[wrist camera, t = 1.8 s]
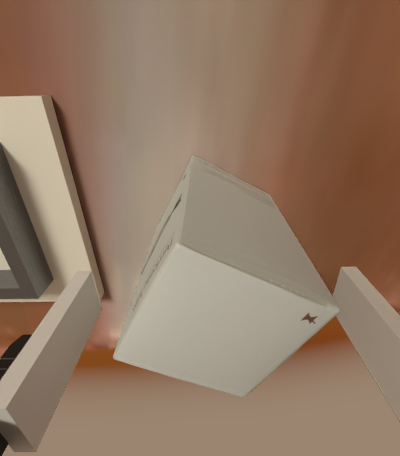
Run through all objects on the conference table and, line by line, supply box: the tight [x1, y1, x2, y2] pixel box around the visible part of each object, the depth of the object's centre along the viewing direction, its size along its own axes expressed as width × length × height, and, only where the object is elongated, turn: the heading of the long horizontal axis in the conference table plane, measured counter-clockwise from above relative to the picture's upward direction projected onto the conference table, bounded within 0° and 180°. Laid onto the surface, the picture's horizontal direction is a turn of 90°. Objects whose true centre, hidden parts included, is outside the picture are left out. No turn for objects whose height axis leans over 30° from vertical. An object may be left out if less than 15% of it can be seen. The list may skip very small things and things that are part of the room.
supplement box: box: [113, 155, 340, 398], centre depth 16 cm, size 7×7×13 cm
